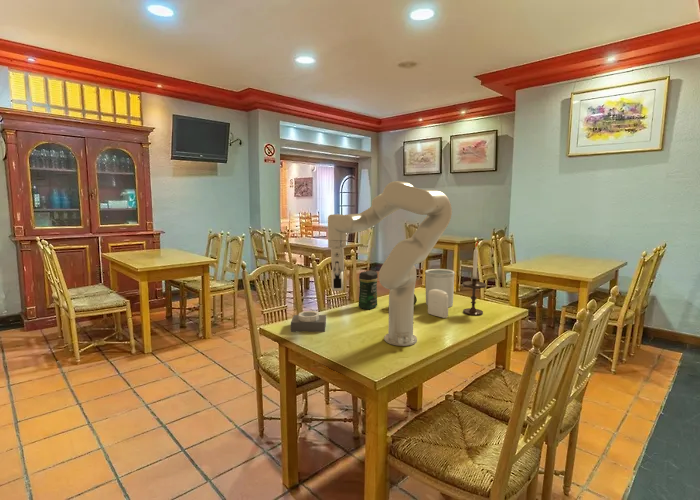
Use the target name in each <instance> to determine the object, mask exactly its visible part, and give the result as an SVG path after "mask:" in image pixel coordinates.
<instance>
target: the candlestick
mask: <svg viewBox="0 0 700 500" xmlns="http://www.w3.org/2000/svg"><path fill="white" fill-rule="evenodd" d="M478 244H479V241H476V243H475V247H474V250H473V259H472V260H473V261H472V262H473V263H472V277H470V279H471V280H467V281H462V285H461V286H463V287H465V288H469V289H471V290H472V293H471V294H472V296H470V299H471V301H470V303H471V307H470V308H464V309H463V311H462V312H463V314H465V315H467V316H473V317H474V316H475V317H477V316H482V315H483V314H484V311H483V310H481V309H478V308H476V304H477V302H476V300H477V296H476V290H477V289H485V288H487V283H486V282H482V281H478V280H479V277H477V276H478V260H479V259H478V257H479V250H478Z"/></svg>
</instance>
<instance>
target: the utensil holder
mask: <svg viewBox="0 0 700 500" xmlns="http://www.w3.org/2000/svg"><path fill="white" fill-rule="evenodd" d="M424 274H425V304H426V306H428V293H429V291H430V290H433V289H438V290H442V291H444V292H446V293H447V294H448V296H449V301H448V308H450V307H453V304H454V294H455V293H454V292H455V291H454V286H455V283H454V282H455V271H454V270H452V269H446V268H434V269H433V268H432V269H430V268H429V269H426V270H425V271H424Z"/></svg>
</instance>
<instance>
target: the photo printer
mask: <svg viewBox="0 0 700 500" xmlns="http://www.w3.org/2000/svg"><path fill="white" fill-rule="evenodd" d="M448 301H449V296H448V294H447V293H446V292H444V291H442V290H438V289H433V290H430V291H429V293H428V305H427V314H429V315H432V316H436V317H439V318H443V319H447V318H448V316H449V307H448Z"/></svg>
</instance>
